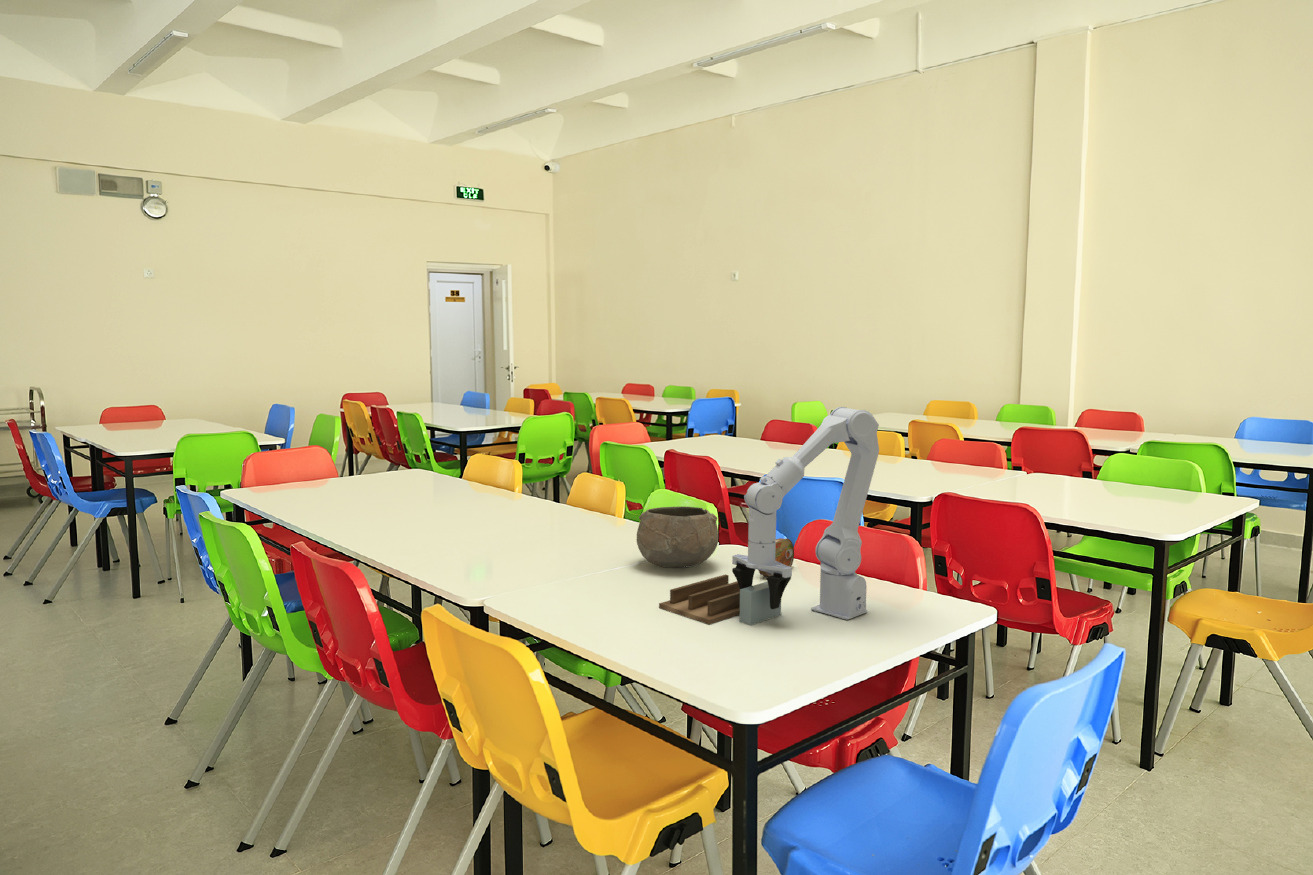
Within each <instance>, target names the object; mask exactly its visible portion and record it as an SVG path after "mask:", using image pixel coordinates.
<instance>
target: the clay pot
mask: <svg viewBox="0 0 1313 875" xmlns="http://www.w3.org/2000/svg"><path fill="white" fill-rule="evenodd" d="M638 518H639V519H638V520H639V524H638V527H637V531H636V545H637V548H638V549H639V550H638V551H639V552H640V554H641V556H642V557H643V558H644V559H645V560H646V561H647V562H649V563H651V564H652V565H655V566H658V567H662V568H667V569H681V568H682V569H683V568H688V567H690V568H691V567H695V566H698V565H700V564H702V563H704V562H706V561H707V560H708V559H709V558H710V557H711V556H712V555H713V554H714V552H715V551H716V550H717V546H718V544H719V543H718V542H719V529H718V525H717V521H718V517H717V516H716V515H715V514H714V513H713V512H712V513H711V512H710V511H709V510H708V509H707V508H705V509H704V508H703V507H694V506H662V507H661V506H660V507H653V508H649V509H647V510H646V511H643V512H641V514H640V515H639V517H638Z"/></svg>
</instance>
